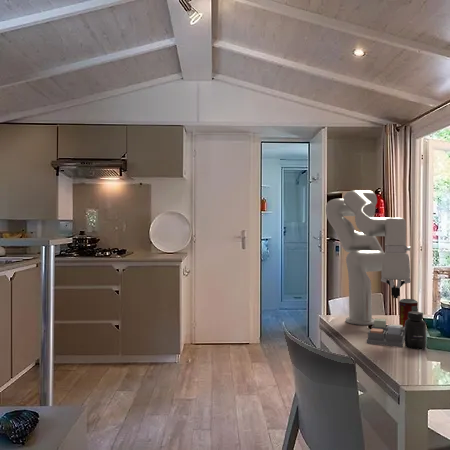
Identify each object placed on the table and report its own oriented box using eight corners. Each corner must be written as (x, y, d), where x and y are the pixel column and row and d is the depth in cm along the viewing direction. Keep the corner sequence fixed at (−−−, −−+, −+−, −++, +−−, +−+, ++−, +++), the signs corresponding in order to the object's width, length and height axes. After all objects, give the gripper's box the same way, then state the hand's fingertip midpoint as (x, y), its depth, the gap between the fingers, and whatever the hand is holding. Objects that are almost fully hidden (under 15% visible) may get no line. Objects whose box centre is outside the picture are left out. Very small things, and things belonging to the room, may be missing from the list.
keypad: (373, 331, 176) (373, 322, 176) (406, 334, 170) (406, 325, 170) (366, 343, 158) (366, 333, 158) (402, 346, 152) (402, 337, 152)
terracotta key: (372, 334, 164) (372, 328, 164) (383, 335, 162) (383, 329, 162) (370, 337, 160) (370, 330, 160) (382, 338, 158) (382, 331, 158)
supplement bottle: (417, 350, 148) (416, 315, 148) (400, 345, 154) (400, 311, 154) (430, 347, 151) (430, 313, 151) (413, 343, 157) (413, 309, 157)
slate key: (389, 331, 161) (389, 324, 161) (400, 332, 159) (400, 325, 159) (388, 334, 157) (387, 327, 157) (399, 335, 156) (399, 328, 156)
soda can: (421, 330, 177) (421, 299, 177) (412, 332, 172) (412, 301, 172) (405, 327, 182) (404, 297, 182) (396, 329, 178) (395, 299, 178)
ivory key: (391, 330, 170) (391, 324, 170) (402, 331, 168) (402, 325, 168) (390, 332, 166) (390, 326, 166) (402, 333, 165) (401, 327, 165)
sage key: (375, 324, 173) (375, 318, 173) (386, 325, 171) (386, 319, 171) (374, 326, 169) (374, 320, 169) (385, 327, 167) (385, 321, 167)
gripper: (417, 249, 168) (417, 297, 168) (376, 249, 174) (376, 295, 174) (416, 251, 161) (416, 300, 161) (373, 250, 167) (374, 298, 167)
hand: (395, 297), depth 168 cm, fingers closed
